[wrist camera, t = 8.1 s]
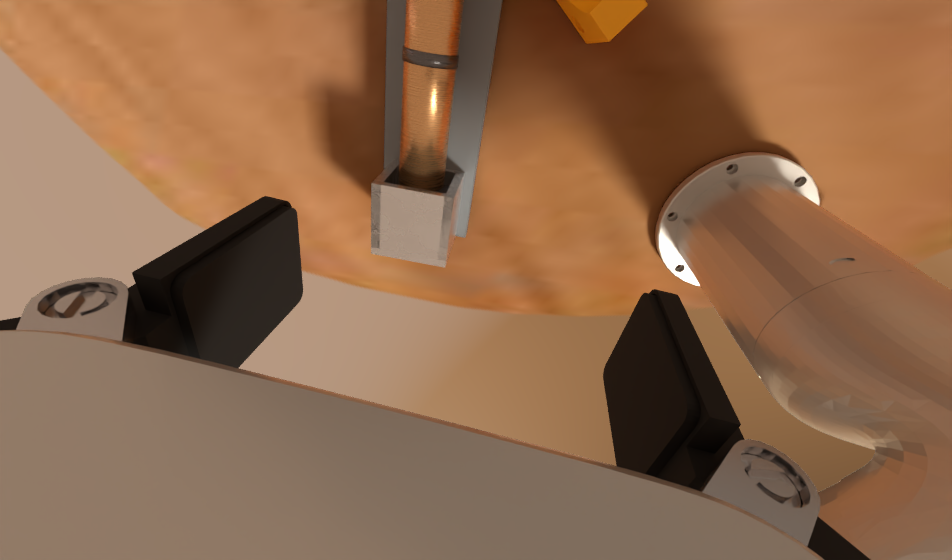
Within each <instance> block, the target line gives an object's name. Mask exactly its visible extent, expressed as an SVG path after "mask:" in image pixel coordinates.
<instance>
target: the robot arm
mask: <svg viewBox="0 0 952 560" xmlns="http://www.w3.org/2000/svg"><path fill="white" fill-rule="evenodd" d="M729 165H730V167H729V168H727V167H728V166H729ZM670 213H672V214H670ZM669 214H670V215H669ZM655 241H656V247H657V250H658V253H659V255H660V257H661V259H662V261H663V262H664V264H665V266H666V267H667V268H668V269H669V270H670V272H671V273H672V274H674V275H675V276H677V277H678V278H680V279H681V280H683V281H685V282H688V283H690V284H693V285H697V286H701V288H702V289H703V291H704V293H705V294H706V296H707V297H708V299H709V300H710V302H711V303H712V305H713V306H714V308H715V309H716V311H717V313H718V314H719V316H720V317H721V319H722V320H723V322H724V324H725V325H726V326H727V328H728V330H729V331H730V333H731V334H732V336H733V337H734V339H735V341H736V342H737V344H738V345H739V347H740V348H741V350H742V351H743V353H744V354H745V356H746V358H747V359H748V361H749V362H750V364H751V365H752V367H753V368H754V370H755V371H756V373H757V375H758V376H759V378H760V379H761V380H762V382H763V383H764V385H765V386H766V388H767V389H768V391H769V392H770V394H771V395H772V396H773V397H774V399H775V400H776V401H777V402H778V403H779V404H780V405H781V406H782V407H783V408H784V409H785V410H786V411H788V412H789V413H790V414H792V415H793V416H794V417H796V418H797V419H798V420H800V421H802V422H803V423H805V424H807V425H809V426H811V427H813V428H815V429H817V430H819V431H821V432H823V433H826V434H828V435H831V436H834V437H836V438H839V439H842V440H845V441H848V442H851V443H854V444H857V445H860V446H864V447H867V448H870V449H874V450H875V454H874V456H873V458H872V460H871V461H869V462H868V463H867V464H866V465H865V466H863V467H862V468H860V469H858V470H856V471H855V472H853V473H851V474H850V475H848V476H846V477H844V478H843V479H841V481H840V482H838V483H836V484H834V485H832V486H830V487H828V488H826V489H824V490H822V491H820V492H817V489H816V487H815V486H814V484H813V483H812V481H811V479H810V478H809V476H808V475H807V474H806V473H805V472H804V471H803V470H802V469H801V468H800V467H799V465H798V464H796V463H795V462H794V461H793V460H791V459H790V458H789V457H788V456H787V455H785V454H784V453H782V452H781V451H779V450H777V449H776V448H774V447H773V446H770V445H767V444H765V443H763V442H761V441H756V440H751V439H747V440H744V438H743V435H742V434H741V431H740V429H739V426H740V425H741V424H740V422H739V420H738V418H737V416H736V414H735V412H734V410H733V408H732V405H731V403H730V401H729V399H728V397H727V395H726V393H725V391H724V389H723V387H722V385H721V383H720V381H719V379H718V377H717V374H716V372H715V370H714V368H713V366H712V364H711V362H710V360H709V358H708V356H707V354H706V352H705V350H704V348H703V345H702V343H701V341H700V339H699V337H698V335H697V333H696V331H695V329H694V327H693V325H692V323H691V321H690V319H689V317H688V315H687V312H686V310H685V308H684V306H683V304H682V302H681V300H680V298H679V296H678V295H676V294H672V293H668V292H664V291H659V290H655V289H654V290H652V291H651V292H650V293H649V294H648V293H644V294H643V295H642V296H641V297H640V299H639V301H638V303H637V305H636V307H635V309H634V311H633V313H632V315H631V317H630V319H629V321H628V323H627V325H626V327H625V328H624V330H623V332H622V334H621V336H620V338H619V340H618V342H617V344H616V346H615V348H614V350H613V352H612V354H611V356H610V357H609V359H608V361H607V363H606V366H605V368H604V374H603V379H604V386H605V393H606V399H607V405H608V412H609V419H610V425H611V432H612V438H613V445H614V451H615V458H616V464H617V466H614V465H610V464H606V463H603V462H599V461H596V460H592V459H588V458H585V457H581V456H577V455H574V454H570V453H566V452H562V451H558V450H555V449H551V448H547V447H543V446H539V445H536V444H532V443H528V442H524V441H520V440H517V439H512V438H509V437H505V436H501V435H497V434H494V433H490V432H486V431H482V430H478V429H475V428H471V427H467V426H463V425H459V424H455V423H451V422H447V421H444V420H440V419H436V418H432V417H428V416H424V415H420V414H416V413H413V412H409V411H405V410H401V409H397V408H393V407H389V406H385V405H381V404H377V403H374V402H370V401H366V400H362V399H358V398H354V397H349V396H346V395H342V394H338V393H334V392H330V391H326V390H323V389H318V388H315V387H311V386H307V385H303V384H298V383H295V382H291V381H287V380H283V379H279V378H275V377H270V376H266V375H263V374H259V373H255V372H251V371H246V370H243V369H239V367H240V365H241V364H242V363H243V362H244V361H245V360H246V359H247V358H248V357H249V356H250V355H251V353H252V352H253V351H254V350H255V349H256V348H257V347H258V346H259V345H260V344H261V343H262V342H263V341H264V339H265V338H266V337H267V336H268V335H269V334H270V333H271V332H272V331H273V330H274V329H275V328H276V327H277V325H278V324H279V323H280V322H281V321H282V320H283V319H284V318H285V317H286V316H287V315H288V314H289V313H290V311H291V310H292V309H293V308H294V307H295V306H296V305H297V304H298V303H299V301H300V300H301V297H302V294H303V284H302V271H301V258H300V245H299V232H298V219H297V212H296V210H295V209H294V208H292V206H291V204H290V203H289V202H288V201H284V200H280V199H276V198H272V197H267V196H265V197H262V198H260V199H259V200H257V201H255V202H253V203H252V204H250V205H248V206H246V207H245V208H243V209H241V210H240V211H238V212H236V213H234V214H233V215H231V216H229V217H227V218H226V219H224V220H222V221H220V222H219V223H217V224H215V225H214V226H212V227H210V228H208V229H207V230H205V231H203V232H202V233H200V234H198V235H196V236H195V237H193V238H191V239H189V240H188V241H186V242H184V243H182V244H181V245H179V246H177V247H175V248H174V249H172V250H170V251H169V252H167V253H165V254H163V255H162V256H160V257H158V258H156V259H155V260H153V261H151V262H149V263H148V264H146V265H144V266H143V267H141V268H139V269H137V270H136V271H134V272H133V273H132V274H133V277H134V280H135V282H136V284H134V285H133V286H131V287H130V288H127V286H126V285H125V284H123V283H122V282H121V281H118V280H115V279H111V278H100V277H98V278H84V279H78V280H72V281H68V282H65V283H61V284H58V285H55V286H53V287H50V288H48V289H46V290H44V291H42V292H40V293H39V294H37V295H36V296H35V297H33V298H32V299H31V300H30V301H29V303H28V304H27V305H26V307H25V309H24V311H23V314H22V317H19V318H13V319H7V320H2V321H0V560H952V290H951V289H949V288H948V287H946V286H945V285H943V284H942V283H940V282H938V281H937V280H934V279H932V278H931V277H929V276H928V275H926V274H925V273H923V272H922V271H920V270H919V269H917V268H915V267H914V266H912V265H911V264H909V263H908V262H906V261H905V260H903V259H901V258H900V257H898V256H897V255H895V254H894V253H892V252H891V251H889V250H887V249H886V248H884V247H883V246H881V245H880V244H878V243H876V242H875V241H873V240H872V239H870V238H869V237H867V236H866V235H864V234H862V233H861V232H859V231H858V230H856V229H855V228H853V227H852V226H850V225H848V224H847V223H845V222H844V221H842V220H841V219H839V218H837V217H836V216H834V215H833V214H831V213H830V212H828V211H827V210H825V209H823V208H822V207H820V197H819V192H818V187H817V185H816V183H815V181H814V180H813V178H812V176H811V175H810V174H809V173H808V172H807V171H806V170H805V169H804V168H803V167H802V166H800V165H798V164H797V163H795V162H793V161H792V160H789V159H787V158H785V157H782V156H780V155H776V154H771V153H766V152H746V153H741V154H735V155H730V156H727V157H725V158H722V159H719V160H716V161H714V162H712V163H710V164H708V165H706V166H704V167H702V168H700V169H699V170H697V171H696V172H694V173H693V174H692V175H690V176H689V177H687V178H686V179H685V180H684V181H683V182H682V183H681V184H680V185H679V186H678V187H677V188H676V189H675V190H674V191H673V192H672V194H671V195H670V196H669V198H668V199H667V200H666V202H665V204H664V206H663V208H662V210H661V212H660V214H659V217H658V220H657V224H656V231H655Z"/></svg>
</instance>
